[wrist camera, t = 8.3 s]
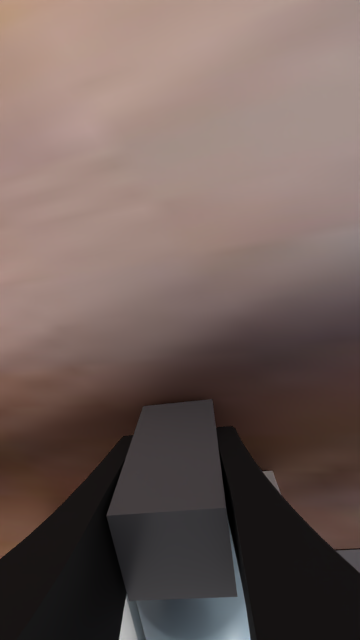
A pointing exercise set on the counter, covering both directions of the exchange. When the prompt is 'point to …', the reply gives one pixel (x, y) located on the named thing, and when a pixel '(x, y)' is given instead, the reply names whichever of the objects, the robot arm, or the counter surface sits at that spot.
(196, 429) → the cartridge
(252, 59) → the counter surface
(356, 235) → the counter surface
